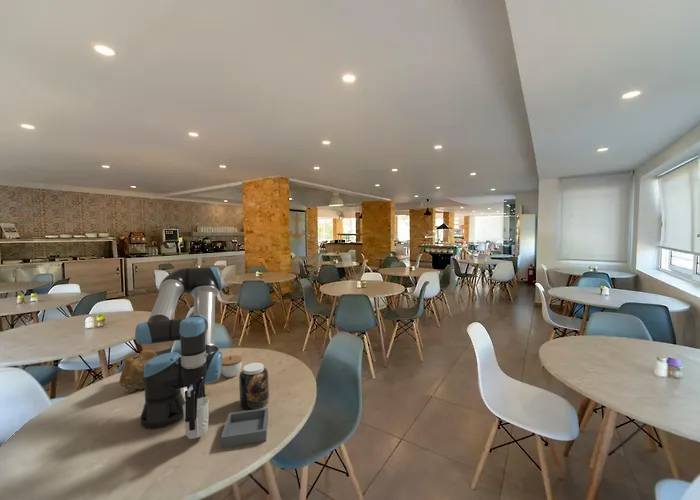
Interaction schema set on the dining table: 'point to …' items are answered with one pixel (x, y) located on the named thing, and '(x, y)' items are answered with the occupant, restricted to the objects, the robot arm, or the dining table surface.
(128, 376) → the rough brown rock
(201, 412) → the white cup
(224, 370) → the lidded jar
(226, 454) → the dining table surface
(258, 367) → the jar
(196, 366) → the robot arm
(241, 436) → the tray
